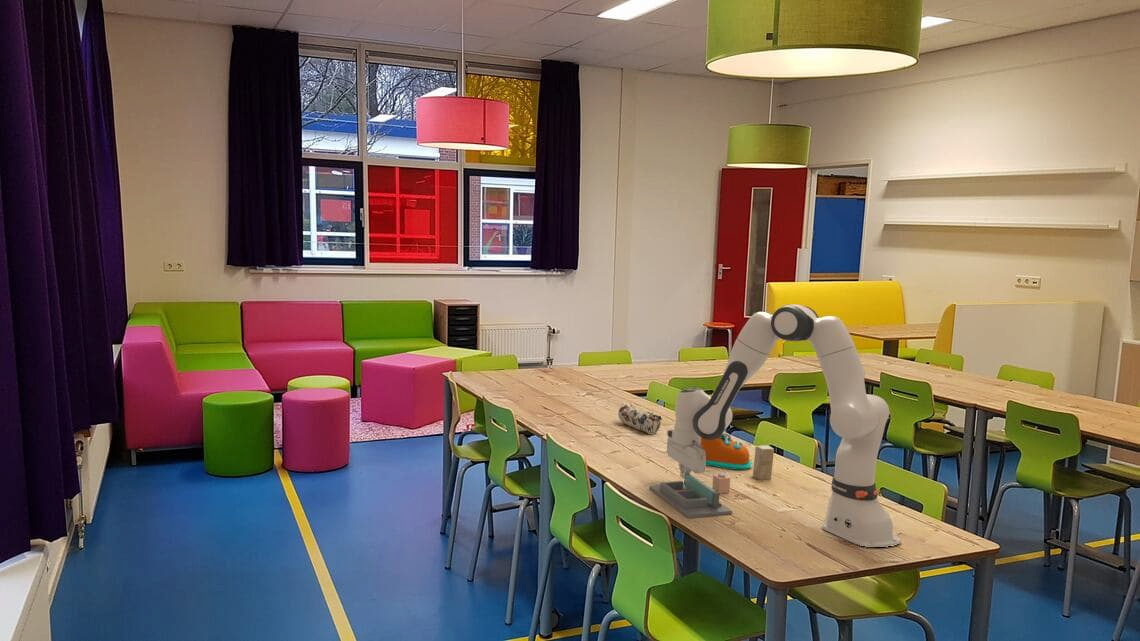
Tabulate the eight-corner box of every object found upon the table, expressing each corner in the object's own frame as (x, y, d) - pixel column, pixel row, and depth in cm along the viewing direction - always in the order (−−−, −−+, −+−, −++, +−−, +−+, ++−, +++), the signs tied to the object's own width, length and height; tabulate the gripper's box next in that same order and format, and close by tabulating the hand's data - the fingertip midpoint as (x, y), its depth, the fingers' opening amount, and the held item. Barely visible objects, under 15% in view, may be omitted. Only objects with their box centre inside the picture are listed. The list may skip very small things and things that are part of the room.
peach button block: (729, 492, 255) (730, 475, 254) (718, 493, 253) (719, 476, 253) (722, 488, 258) (724, 471, 258) (712, 489, 257) (713, 472, 256)
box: (758, 480, 269) (760, 448, 268) (752, 475, 273) (754, 445, 272) (771, 479, 270) (774, 448, 269) (765, 475, 275) (768, 444, 273)
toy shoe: (749, 472, 277) (752, 431, 275) (694, 464, 283) (697, 424, 281) (753, 463, 288) (756, 423, 286) (700, 455, 295) (703, 417, 293)
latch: (714, 505, 238) (716, 491, 238) (711, 505, 238) (712, 491, 237) (688, 486, 254) (689, 473, 254) (684, 486, 254) (685, 473, 253)
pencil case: (662, 434, 322) (663, 411, 321) (645, 436, 318) (647, 413, 317) (631, 421, 341) (632, 399, 340) (615, 423, 336) (616, 401, 335)
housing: (731, 514, 236) (733, 495, 235) (687, 518, 230) (689, 499, 230) (690, 485, 260) (691, 468, 259) (649, 488, 255) (650, 471, 254)
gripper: (712, 445, 245) (709, 487, 247) (681, 428, 264) (678, 467, 266) (694, 446, 243) (691, 489, 245) (664, 429, 262) (662, 469, 264)
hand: (684, 477), depth 255 cm, fingers closed
